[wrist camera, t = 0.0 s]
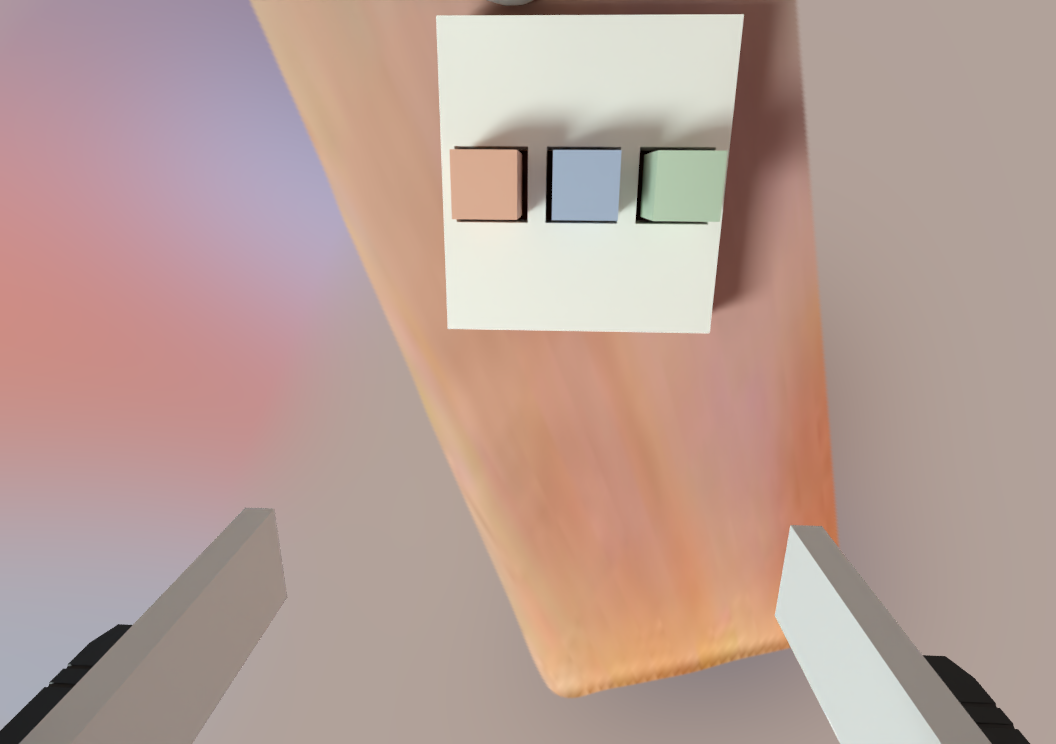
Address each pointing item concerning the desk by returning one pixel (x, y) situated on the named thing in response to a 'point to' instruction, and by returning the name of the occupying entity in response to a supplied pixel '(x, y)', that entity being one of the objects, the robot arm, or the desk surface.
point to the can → (511, 2)
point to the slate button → (586, 185)
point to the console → (584, 124)
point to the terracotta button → (486, 184)
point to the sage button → (683, 185)
